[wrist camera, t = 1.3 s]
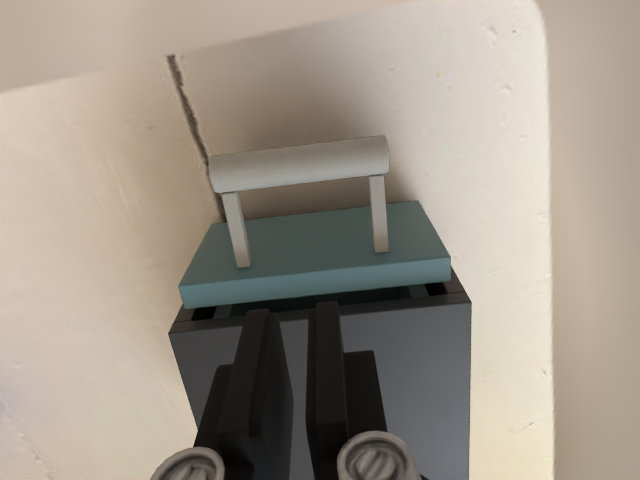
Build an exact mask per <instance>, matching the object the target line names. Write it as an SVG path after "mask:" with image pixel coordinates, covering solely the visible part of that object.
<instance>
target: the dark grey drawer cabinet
mask: <svg viewBox="0 0 640 480" xmlns="http://www.w3.org/2000/svg"><path fill="white" fill-rule="evenodd" d="M424 285H425V287H426V290H427V292H428V295H429V296H427V297H417V298H407V299H398V300H388V301H379V302H369V303H360V304H350V305H341V306H338V307H339V315H340V324H341V332H342V340H343V348H344V353H345V352H355V351H365V350H374V355H375V361H376V367H377V373H378V379H379V384H380V390H381V396H382V402H383V408H384V414H385V419H386V425H387V431H388V433H391V434H393V435H395V436H397V437H399V438H401V439H402V440H403V441H404V442H405V443H406V444H407V445H408V446H409V448H410V450H411V451H412V453H413V455H414V458H415V461H416V464H417V467H418V470H419V473H420V474H421V475H423V476H424V477H426V478H427V479H429V480H469V434H470V370H471V305H472V302H471V300H470V299H469V297H468V295H467V293H466V292H465V290H464V288H463V286H462V284H461V283H460V281H459V279H458V277H457V275H456V274H455V272H454V270H453V268H452V266H451V280H450V281H445V282H436V283H426V284H424ZM216 308H217V306H210V307H201V308H191V309H185V308H184V305H183V304H182V306H181V308H180V311H179V313H178V315H177V317H176V319H175V321H174V323H173V324H172V327H171V329H170V331H169V333H168V335H169V338H170V342H171V345H172V348H173V351H174V354H175V358H176V361H177V364H178V367H179V371H180V374H181V377H182V380H183V384H184V387H185V390H186V393H187V396H188V400H189V403H190V406H191V409H192V413H193V416H194V419H195V422H196V426H197V429H199V426H200V422H201V419H202V415H203V412H204V409H205V405H206V402H207V399H208V395H209V392H210V388H211V385H212V382H213V378H214V375H215V372H216V369H217V367H218V366H219V365H225V364H233V363H234V359H235V355H236V351H237V347H238V343H239V339H240V335H241V331H242V327H243V323H244V319H245V316H236V317H227V318H217V319H213V316H214V313H215V311H216ZM313 309H316V308H312V309H303V310H293V311H284V312H274V313H270V314H275V313H277V314H278V317H279V323H280V328H281V333H282V338H283V344H284V349H285V354H286V360H287V365H288V370H289V376H290V381H291V386H292V392H293V399H294V413H293V429H292V445H291V461H290V477H289V480H315V478H314V473H313V467H312V462H311V456H310V451H309V445H308V440H307V433H306V420H305V409H306V378H307V348H308V317H309V310H313Z"/></svg>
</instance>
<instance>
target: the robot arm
mask: <svg viewBox="0 0 640 480" xmlns="http://www.w3.org/2000/svg"><path fill="white" fill-rule="evenodd" d="M293 413H294V399H293V392H292V386H291V381H290V376H289V370H288V365H287V360H286V354H285V349H284V344H283V338H282V333H281V328H280V323H279V317H278V314H277V313H275V314H270V310H269V309H259V310H250V311H247V312H246V315H245V319H244V323H243V327H242V331H241V335H240V339H239V343H238V347H237V351H236V355H235V359H234V363H233V364H225V365H219V366H218V367H217V369H216V372H215V375H214V378H213V382H212V385H211V388H210V392H209V395H208V399H207V402H206V405H205V409H204V412H203V415H202V419H201V422H200V426H199V429H198V432H197V436H196V439H195V443H194V446H193V448H187V449H185V450H182V451H180V452H177V453H175V454H174V455H172V456H171V457H169V458H168V459H166V460H165V461H164V462H163V463H162V464H161V465H160V466H159V467H158V468H157V469H156V471H155V472H154V474H153V475H152V477H151V479H150V480H289V477H290V461H291V445H292V429H293ZM305 420H306V433H307V440H308V445H309V451H310V456H311V462H312V467H313V473H314V478H315V480H429V479H427V478H426V477H424V476H423V475H421V474H420V473H419V470H418V467H417V464H416V461H415V458H414V455H413V453H412V451H411V450H410V448H409V446H408V445H407V444H406V443H405V442H404V441H403V440H402V439H401V438H399V437H397V436H395V435H393V434H391V433H388V431H387V425H386V419H385V414H384V408H383V402H382V396H381V390H380V384H379V379H378V373H377V367H376V361H375V355H374V350H365V351H355V352H345V353H344V348H343V340H342V332H341V324H340V315H339V307H338V301H335V302H326V303H317V305H316V309H313V310H309V317H308V348H307V378H306V409H305Z"/></svg>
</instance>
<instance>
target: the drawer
mask: <svg viewBox="0 0 640 480" xmlns="http://www.w3.org/2000/svg"><path fill="white" fill-rule="evenodd" d="M388 171H389V152H388V145H387V140H386V137H385V136H384V135H380V136H372V137H364V138H356V139H347V140H339V141H331V142H323V143H314V144H306V145H298V146H290V147H281V148H273V149H265V150H257V151H249V152H240V153H232V154H224V155H216V156H211V157H210V159H209V177H210V181H211V185H212V187H213V189H214V191H215V192H216V193H222V200H223V204H224V209H225V214H226V218H227V222H225V223H217V224H211V226H210V228H209V230H208V231H207V233H206V235H205V237H204V239H203V241H202V243H201V245H200V246H199V248H198V250H197V252H196V254H195V256H194V258H193V259H192V261H191V263H190V265H189V267H188V269H187V271H186V273H185V274H184V276H183V278H182V280H181V282H180V284H179V286H178V287H179V291H180V294H181V298H182V301H183V305H184V308H185V309H191V308H201V307H210V306H217V308H216V311H215V313H214V316H213V319H217V318H227V317H236V316H245V315H246V312H247V311H250V310H259V309H269V310H270V313H274V312H284V311H293V310H303V309H312V308H316V305H317V303H326V302H335V301H338V306H341V305H350V304H360V303H369V302H379V301H388V300H398V299H407V298H417V297H427V296H429V295H428V292H427V290H426V287H425V285H424V284H426V283H436V282H445V281H450V280H451V257H450V255H449V253H448V252H447V250H446V248H445V246H444V245H443V243H442V241H441V239H440V238H439V236H438V234H437V232H436V231H435V229H434V227H433V225H432V224H431V222H430V220H429V218H428V217H427V215H426V213H425V211H424V210H423V208H422V206H421V204H420V203H419V201H409V202H400V203H391V204H386V201H385V186H384V175H383V174H385V173H388ZM360 176H368V185H369V197H370V206H365V207H356V208H348V209H339V210H330V211H321V212H313V213H304V214H295V215H287V216H278V217H269V218H260V219H252V220H244V218H243V213H242V208H241V203H240V198H239V193H238V191H241V190H249V189H258V188H266V187H275V186H283V185H292V184H300V183H309V182H317V181H326V180H334V179H343V178H351V177H360Z"/></svg>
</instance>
